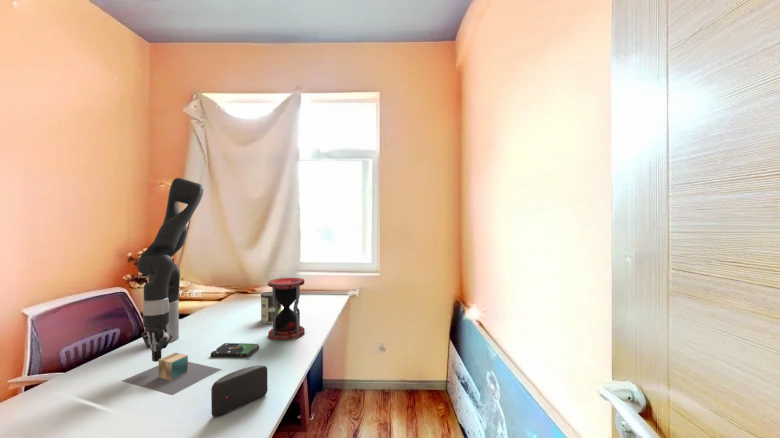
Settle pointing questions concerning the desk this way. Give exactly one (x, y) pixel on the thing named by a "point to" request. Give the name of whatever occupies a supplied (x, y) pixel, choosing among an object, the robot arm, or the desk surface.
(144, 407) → the desk surface
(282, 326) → the hourglass
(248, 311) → the desk surface
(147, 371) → the rubber mat
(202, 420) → the desk surface
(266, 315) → the coffee can
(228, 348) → the disk drive
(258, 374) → the leaning round-cornered charcoal block
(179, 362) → the oak cube
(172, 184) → the robot arm
